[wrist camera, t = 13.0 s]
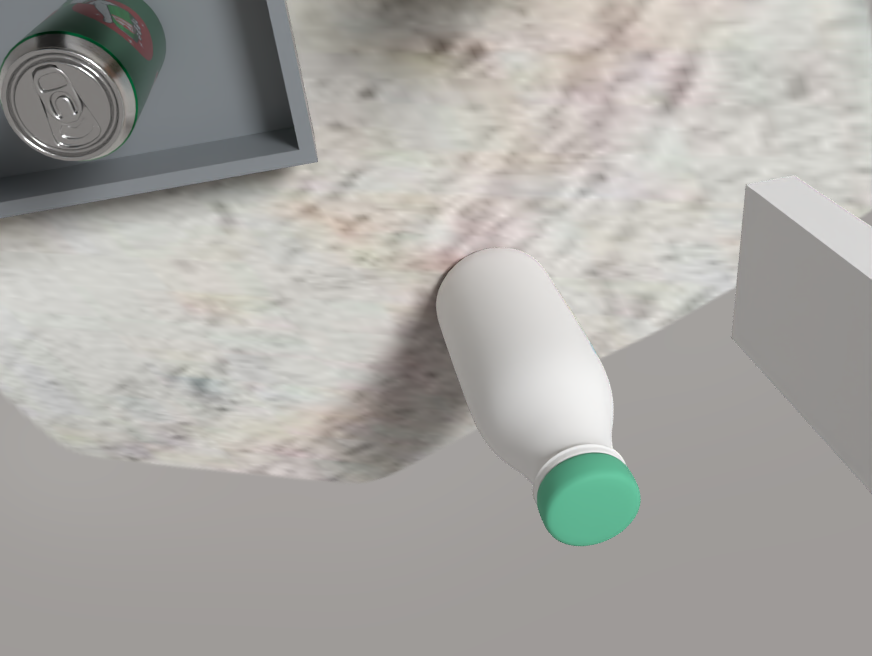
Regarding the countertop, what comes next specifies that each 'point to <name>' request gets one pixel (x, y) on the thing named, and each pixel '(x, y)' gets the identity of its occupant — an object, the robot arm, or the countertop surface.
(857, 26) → the countertop surface
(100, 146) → the soda can
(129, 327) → the countertop surface
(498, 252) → the milk bottle
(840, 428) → the robot arm
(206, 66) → the bin
